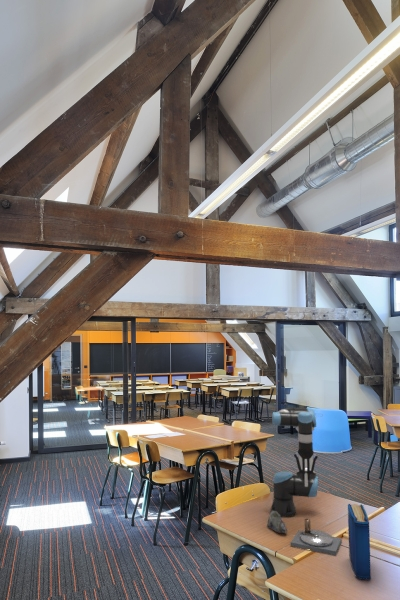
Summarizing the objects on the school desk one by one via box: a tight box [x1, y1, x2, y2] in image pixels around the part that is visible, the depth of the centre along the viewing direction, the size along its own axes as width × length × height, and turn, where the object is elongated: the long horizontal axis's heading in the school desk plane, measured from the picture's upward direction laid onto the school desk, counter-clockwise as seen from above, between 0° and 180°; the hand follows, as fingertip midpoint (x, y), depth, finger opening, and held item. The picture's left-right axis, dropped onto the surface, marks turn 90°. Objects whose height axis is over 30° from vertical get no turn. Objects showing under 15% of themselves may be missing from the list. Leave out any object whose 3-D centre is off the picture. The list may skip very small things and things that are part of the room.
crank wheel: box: [300, 518, 334, 547], centre depth 223 cm, size 16×16×8 cm
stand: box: [290, 530, 343, 557], centre depth 222 cm, size 17×22×2 cm
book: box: [347, 503, 372, 580], centre depth 198 cm, size 22×7×25 cm, turn 168°
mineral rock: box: [266, 511, 288, 534], centre depth 239 cm, size 13×11×10 cm
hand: (306, 485), depth 238 cm, fingers closed
